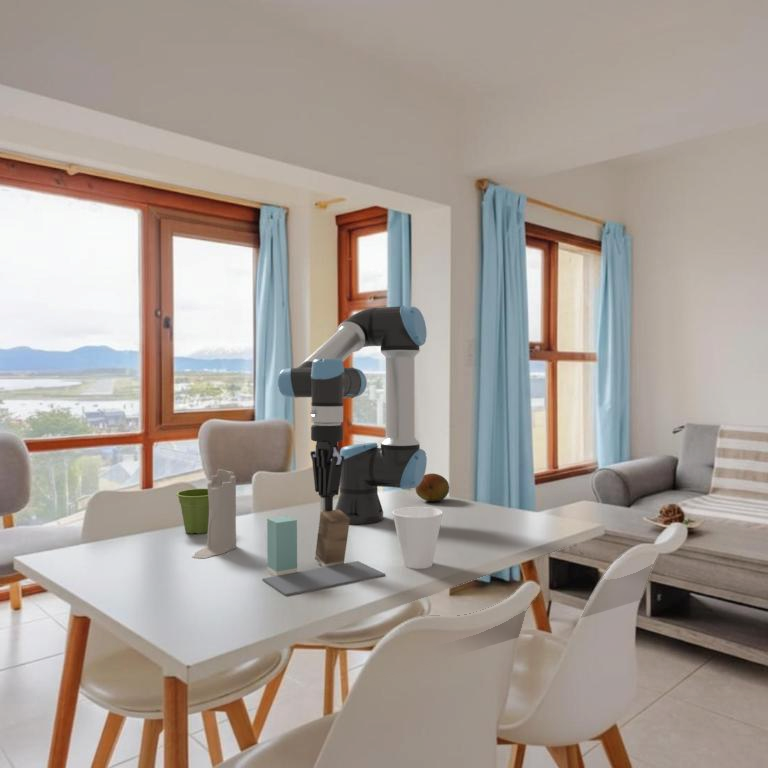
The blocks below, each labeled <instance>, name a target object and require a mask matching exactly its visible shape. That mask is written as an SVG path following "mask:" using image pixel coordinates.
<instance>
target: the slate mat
mask: <svg viewBox="0 0 768 768" xmlns="http://www.w3.org/2000/svg"><path fill="white" fill-rule="evenodd" d="M385 576H386V573H385V572H382V571H380V570H378V569H376V568H374V567H372V566H369V565H368V564H365V563H363V562H361V561H359V560H356V561H349V562H346V563H345V562H344V564H339V565H333V566H328V567H319V568H313V569H307V570H306V569H305V570H302V571H297V572H295V573H290V574H284V575H279V576H274V575H273V576H269V577H263V578H262V580H261V581H263V582H264V583H265V584H267V585H268V586H270V587H271V586H272V588H273V589H274V588H275V589H274V590H276V591H277V590H278V591H277V592H279V593H280V594H282V595H284V596H285V597H287V596H291V595H298V594H301V593H307V592H311V591H312V592H313V591H317V590H322V589H325V588H332V587H337V586H341V585H346V584H347V585H348V584H351V583H356V582H360V581H366V580H371V579H376V578H380V577H385Z"/></svg>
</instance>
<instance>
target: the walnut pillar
mask: <svg viewBox="0 0 768 768" xmlns="http://www.w3.org/2000/svg"><path fill="white" fill-rule="evenodd" d="M349 522H350V518H349V517H348V516H347V515H345V514H344V513H343V512H342V511H341V510H340V509H339V510H335V509H333V510H332V511H324V512H321V514H320V513H319V523H318V524H319V525H318V531H317V539H316V547H315V554H314V555H315V556H314V560H316V562H317V563H318V564H319V565H320V566H321V568H323V567H328V566H333V565H339V564H344V563H345V557H346V551H347V550H346V549H347V544H348V543H347V542H348V537H349V536H348V535H349V528H350V524H349Z"/></svg>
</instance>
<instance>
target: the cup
mask: <svg viewBox="0 0 768 768" xmlns="http://www.w3.org/2000/svg"><path fill="white" fill-rule="evenodd" d="M443 515H444V512H443V511H442V509H440V508H435V507H428V506H407V507H400V508H396V509H393V510H392V516H393V520H394V526H395V530H396V534H397V535H396V536H397V539H398V540H397V541H398V544H399V545H398V546H399V550H400V555H401V560H402V565H403V566H404V567H406V568H409V569H415V570H417V569H418V570H422V569H428V568H431V567H432V566H433V563H434V559H435V554H436V548H437V542H438V538H439V533H440V528H441V523H442V519H443Z"/></svg>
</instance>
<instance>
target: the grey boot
mask: <svg viewBox="0 0 768 768" xmlns="http://www.w3.org/2000/svg"><path fill="white" fill-rule="evenodd" d="M236 481H237V477H236V475H235V472H234V471H231V470H230V471H229V470H226V469H222V468H221V469H220V468H218V469H217V470H216V475H215V474H214V475H211V476H210V479H209V481H207V489H208V497H209V523H208V532H207V541H206V545H205V547H204V548H201V549H199V550H197V551H196V552H195V553H194V555H193V556H192V558H195V559H207V558H210V557H214V556H215V557H216V556H219V555H223V554H226V553H228V552H230V551H232V550H234V549H236V548H237V527H236V526H237V524H236V523H237V522H236V521H237V519H236V518H237V517H236V516H237V515H236V513H237V492H236V491H237V486H236V485H237V483H236Z"/></svg>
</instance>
